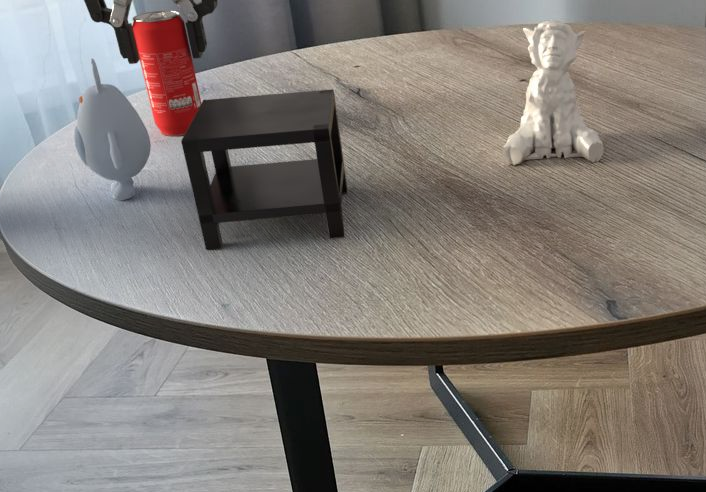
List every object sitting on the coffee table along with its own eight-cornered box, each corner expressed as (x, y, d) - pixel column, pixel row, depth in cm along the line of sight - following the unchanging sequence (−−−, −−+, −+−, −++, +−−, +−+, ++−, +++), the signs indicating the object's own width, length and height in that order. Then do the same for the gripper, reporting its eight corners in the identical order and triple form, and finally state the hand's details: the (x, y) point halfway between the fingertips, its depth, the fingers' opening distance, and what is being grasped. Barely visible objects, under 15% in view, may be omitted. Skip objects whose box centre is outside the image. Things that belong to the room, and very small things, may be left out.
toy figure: (89, 181, 92) (53, 53, 85) (156, 169, 94) (125, 44, 87) (93, 219, 83) (53, 81, 77) (167, 206, 85) (134, 70, 79)
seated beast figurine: (502, 167, 89) (495, 35, 83) (502, 137, 96) (496, 14, 90) (604, 162, 89) (604, 29, 83) (596, 133, 96) (596, 9, 90)
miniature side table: (205, 250, 76) (180, 140, 72) (224, 199, 86) (203, 99, 81) (344, 237, 77) (328, 128, 72) (347, 188, 87) (333, 89, 82)
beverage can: (155, 139, 102) (127, 23, 96) (158, 125, 106) (132, 13, 100) (205, 133, 103) (181, 17, 97) (206, 119, 107) (183, 8, 101)
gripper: (207, -126, 96) (239, 45, 104) (60, -116, 95) (104, 56, 103) (195, -120, 89) (231, 62, 98) (37, -109, 88) (87, 74, 97)
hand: (166, 58), depth 101 cm, fingers open, 6 cm apart
